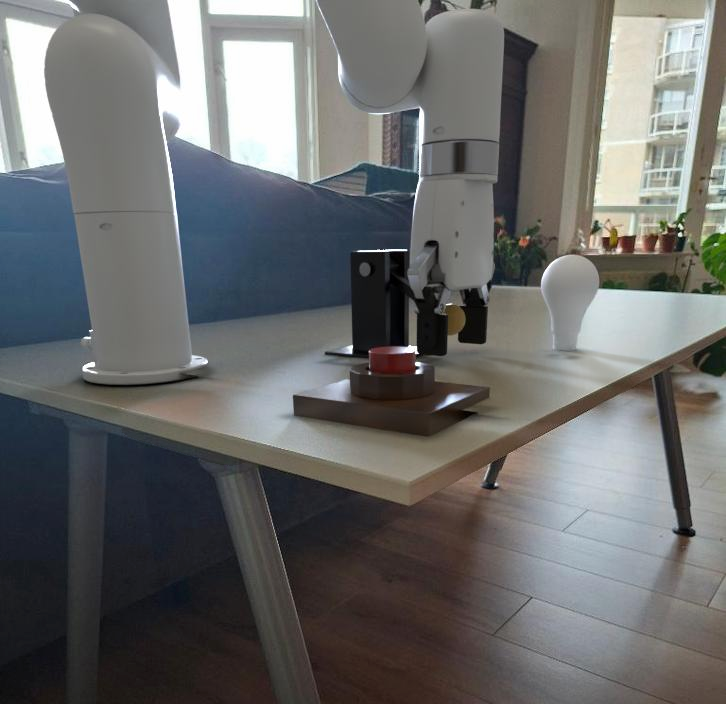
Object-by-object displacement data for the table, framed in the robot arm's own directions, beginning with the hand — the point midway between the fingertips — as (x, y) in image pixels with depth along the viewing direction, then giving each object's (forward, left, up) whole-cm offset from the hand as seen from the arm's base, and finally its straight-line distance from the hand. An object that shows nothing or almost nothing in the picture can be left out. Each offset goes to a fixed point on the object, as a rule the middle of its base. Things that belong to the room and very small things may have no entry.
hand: (452, 348), depth 70 cm
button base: (+5, -20, -2) cm, 21 cm away
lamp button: (+5, -20, +1) cm, 21 cm away
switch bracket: (-9, 0, -2) cm, 9 cm away
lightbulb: (+8, +12, -2) cm, 15 cm away
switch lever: (-5, 0, +4) cm, 7 cm away
